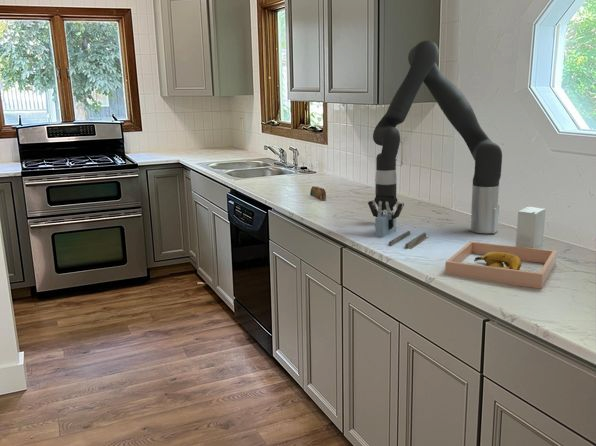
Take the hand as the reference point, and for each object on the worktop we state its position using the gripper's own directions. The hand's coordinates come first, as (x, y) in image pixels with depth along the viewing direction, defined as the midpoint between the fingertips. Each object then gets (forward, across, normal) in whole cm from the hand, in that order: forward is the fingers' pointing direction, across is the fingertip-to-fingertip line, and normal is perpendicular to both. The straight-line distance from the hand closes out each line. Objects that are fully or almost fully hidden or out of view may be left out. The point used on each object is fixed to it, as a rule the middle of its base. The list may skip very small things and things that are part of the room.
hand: (385, 228), depth 209 cm
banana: (+4, -44, +25) cm, 51 cm away
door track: (+3, -11, +6) cm, 13 cm away
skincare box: (+4, -50, +1) cm, 50 cm away
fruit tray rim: (+3, -46, +21) cm, 51 cm away
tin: (+4, +55, -47) cm, 72 cm away
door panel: (+3, 0, 0) cm, 3 cm away
